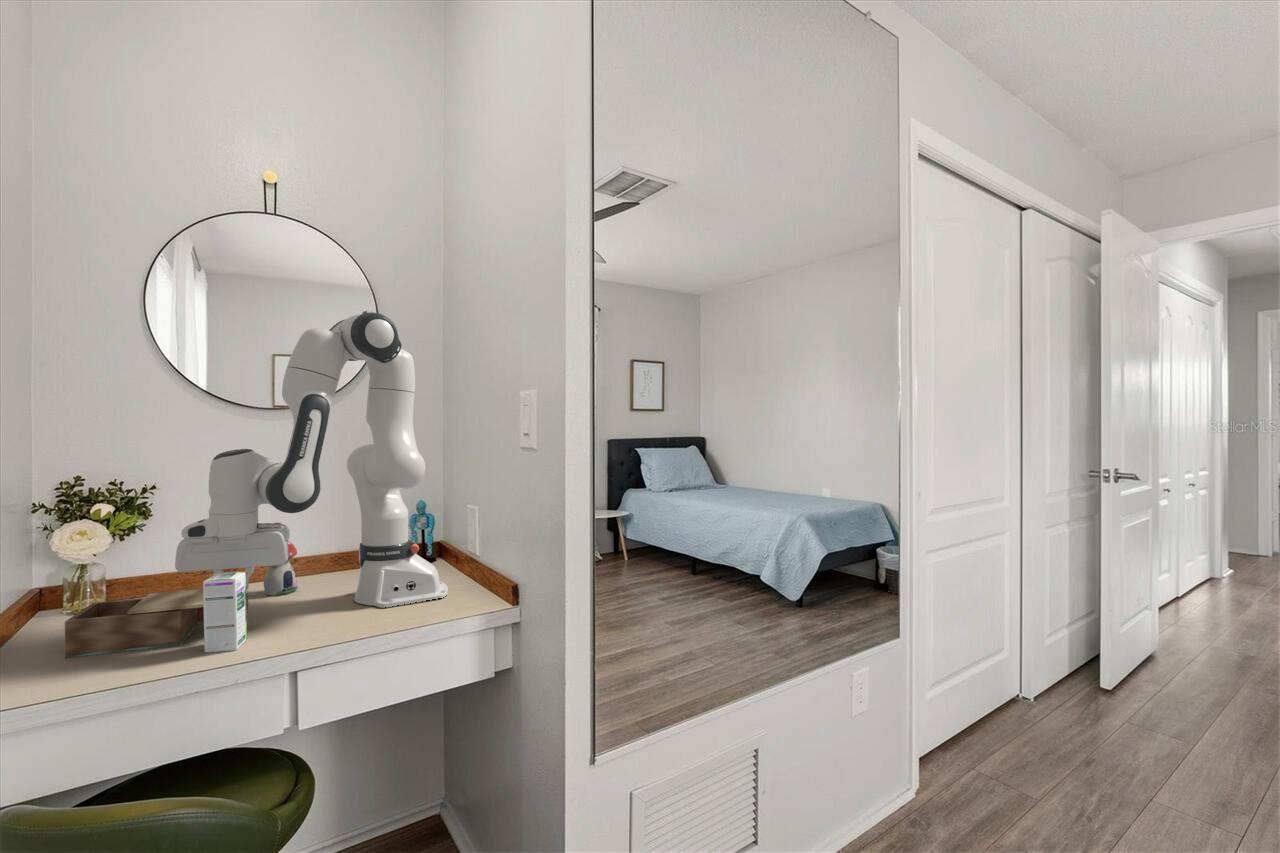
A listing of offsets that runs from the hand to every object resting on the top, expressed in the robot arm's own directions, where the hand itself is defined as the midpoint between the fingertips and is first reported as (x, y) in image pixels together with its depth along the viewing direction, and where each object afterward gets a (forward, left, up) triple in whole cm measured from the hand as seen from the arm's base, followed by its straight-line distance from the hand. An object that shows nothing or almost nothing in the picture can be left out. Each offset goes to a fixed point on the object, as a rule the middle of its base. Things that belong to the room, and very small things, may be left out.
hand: (234, 588), depth 129 cm
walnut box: (+17, 0, -9) cm, 19 cm away
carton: (+9, -13, -10) cm, 18 cm away
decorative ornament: (-5, -26, -9) cm, 28 cm away
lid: (+7, 0, -2) cm, 8 cm away
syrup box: (0, +10, -9) cm, 14 cm away
